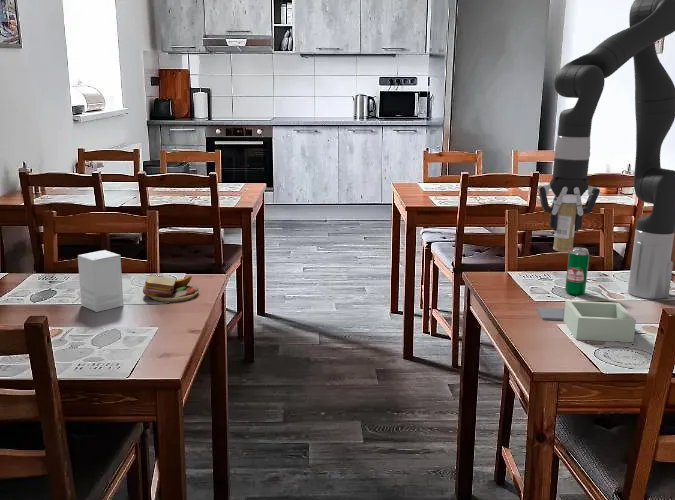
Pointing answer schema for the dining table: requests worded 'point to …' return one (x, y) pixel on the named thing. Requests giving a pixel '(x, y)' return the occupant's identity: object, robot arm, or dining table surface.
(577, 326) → the crate
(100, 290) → the supplement box
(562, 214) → the sprinkles bottle
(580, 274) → the soda can
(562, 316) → the coaster
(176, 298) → the toy sandwich meal
